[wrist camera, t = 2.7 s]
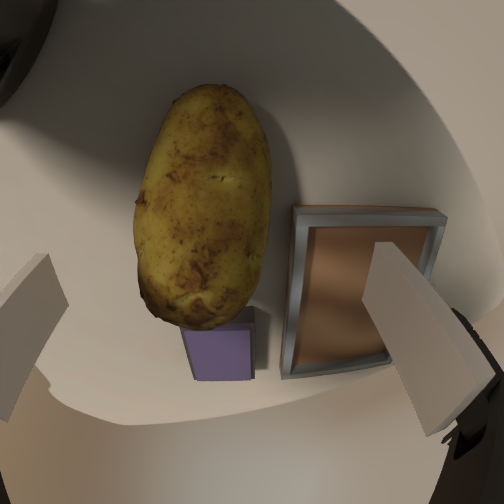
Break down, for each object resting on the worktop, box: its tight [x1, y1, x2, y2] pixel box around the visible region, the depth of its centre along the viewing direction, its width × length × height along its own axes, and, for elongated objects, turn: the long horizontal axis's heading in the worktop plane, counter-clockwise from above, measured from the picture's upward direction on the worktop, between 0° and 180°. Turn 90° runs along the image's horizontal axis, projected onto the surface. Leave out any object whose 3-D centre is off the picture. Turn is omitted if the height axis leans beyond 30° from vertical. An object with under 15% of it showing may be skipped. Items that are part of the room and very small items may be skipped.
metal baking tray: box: [279, 205, 448, 380], centre depth 23 cm, size 18×13×2 cm
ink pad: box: [180, 306, 255, 381], centre depth 24 cm, size 8×6×2 cm
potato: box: [133, 84, 271, 331], centre depth 14 cm, size 8×13×8 cm, turn 154°
